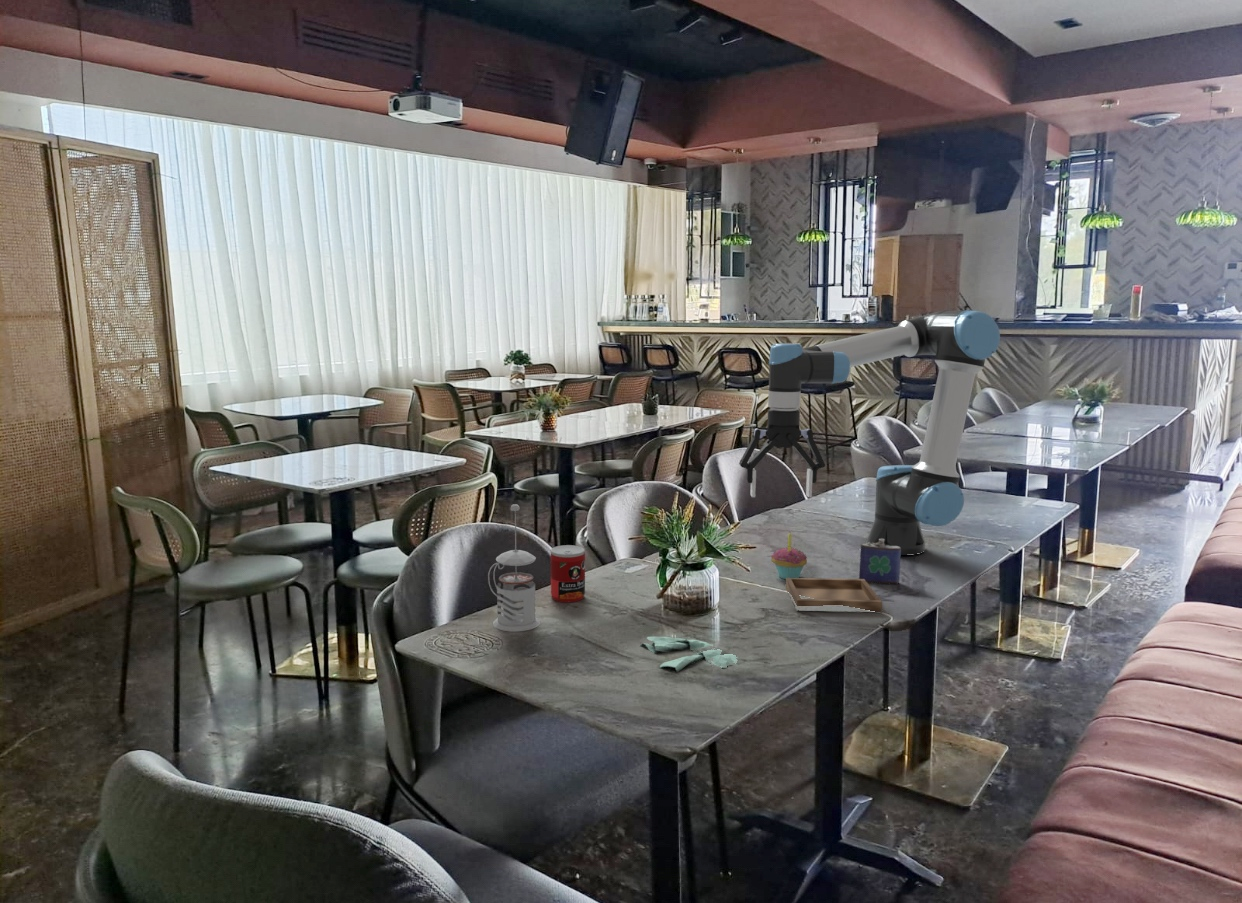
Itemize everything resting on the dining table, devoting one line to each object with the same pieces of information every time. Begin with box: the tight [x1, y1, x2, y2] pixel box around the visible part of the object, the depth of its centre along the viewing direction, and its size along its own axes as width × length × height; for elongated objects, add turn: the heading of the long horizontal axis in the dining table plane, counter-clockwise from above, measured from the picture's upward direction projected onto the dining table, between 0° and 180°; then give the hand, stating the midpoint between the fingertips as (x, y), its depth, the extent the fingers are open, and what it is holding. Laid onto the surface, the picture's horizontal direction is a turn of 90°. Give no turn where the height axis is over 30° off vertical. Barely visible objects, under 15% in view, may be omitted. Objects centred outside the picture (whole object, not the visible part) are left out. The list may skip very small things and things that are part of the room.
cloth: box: [639, 636, 738, 673], centre depth 163 cm, size 20×22×2 cm
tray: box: [785, 577, 883, 613], centre depth 194 cm, size 18×16×2 cm
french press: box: [487, 503, 541, 632], centre depth 177 cm, size 10×12×25 cm
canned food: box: [550, 544, 586, 603], centre depth 195 cm, size 8×8×11 cm
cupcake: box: [770, 532, 808, 580], centre depth 210 cm, size 9×8×12 cm
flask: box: [858, 538, 902, 585], centre depth 207 cm, size 9×3×11 cm, turn 74°
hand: (780, 496), depth 210 cm, fingers open, 13 cm apart
